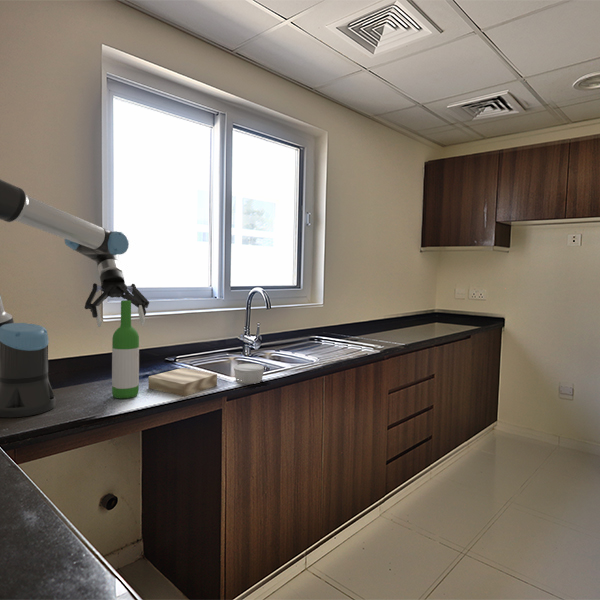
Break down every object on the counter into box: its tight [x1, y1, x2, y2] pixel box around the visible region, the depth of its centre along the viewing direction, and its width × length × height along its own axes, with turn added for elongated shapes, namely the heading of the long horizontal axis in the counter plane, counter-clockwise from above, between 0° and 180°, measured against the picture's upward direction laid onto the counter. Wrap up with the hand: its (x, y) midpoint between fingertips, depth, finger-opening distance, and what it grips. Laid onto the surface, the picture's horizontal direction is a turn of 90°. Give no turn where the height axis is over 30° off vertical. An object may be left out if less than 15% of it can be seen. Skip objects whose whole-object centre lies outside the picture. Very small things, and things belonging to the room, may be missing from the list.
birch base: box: [148, 367, 218, 397], centre depth 148 cm, size 16×16×4 cm
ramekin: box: [233, 363, 265, 385], centre depth 160 cm, size 11×11×5 cm
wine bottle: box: [111, 299, 140, 400], centre depth 135 cm, size 8×8×30 cm
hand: (122, 323), depth 142 cm, fingers open, 13 cm apart
